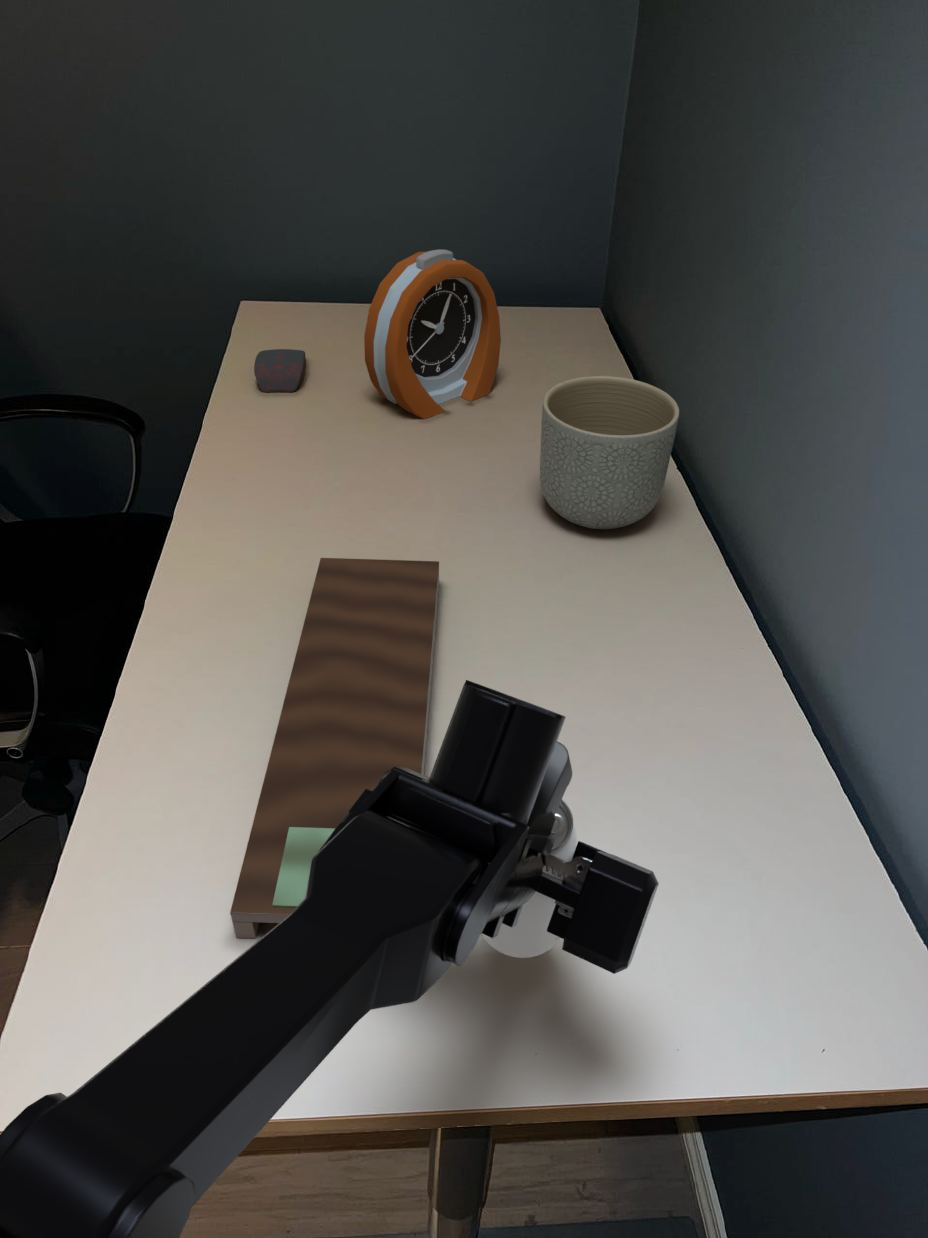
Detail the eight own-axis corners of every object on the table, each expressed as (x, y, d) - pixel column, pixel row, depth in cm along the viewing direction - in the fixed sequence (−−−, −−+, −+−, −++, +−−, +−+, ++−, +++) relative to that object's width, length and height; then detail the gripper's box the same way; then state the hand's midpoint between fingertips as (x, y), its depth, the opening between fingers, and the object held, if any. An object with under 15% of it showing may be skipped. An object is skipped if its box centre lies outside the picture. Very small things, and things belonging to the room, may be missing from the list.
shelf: (410, 944, 74) (409, 918, 71) (235, 938, 74) (229, 911, 72) (439, 584, 111) (439, 559, 108) (322, 581, 111) (320, 556, 109)
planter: (591, 464, 134) (604, 364, 124) (686, 512, 124) (707, 407, 115) (508, 505, 125) (514, 400, 115) (603, 560, 115) (618, 451, 106)
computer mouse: (253, 392, 150) (250, 369, 147) (263, 357, 160) (260, 335, 158) (303, 392, 150) (301, 369, 148) (310, 357, 161) (308, 335, 158)
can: (562, 966, 66) (579, 863, 59) (472, 956, 67) (478, 852, 59) (564, 890, 71) (580, 787, 64) (481, 881, 72) (487, 777, 64)
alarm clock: (404, 427, 142) (400, 278, 127) (365, 404, 147) (357, 259, 133) (508, 386, 153) (515, 246, 139) (468, 367, 159) (471, 230, 145)
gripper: (676, 799, 49) (698, 796, 63) (374, 682, 55) (457, 703, 70) (604, 1002, 48) (643, 951, 63) (308, 859, 54) (406, 843, 69)
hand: (533, 854), depth 66 cm, fingers closed on can, 6 cm apart
